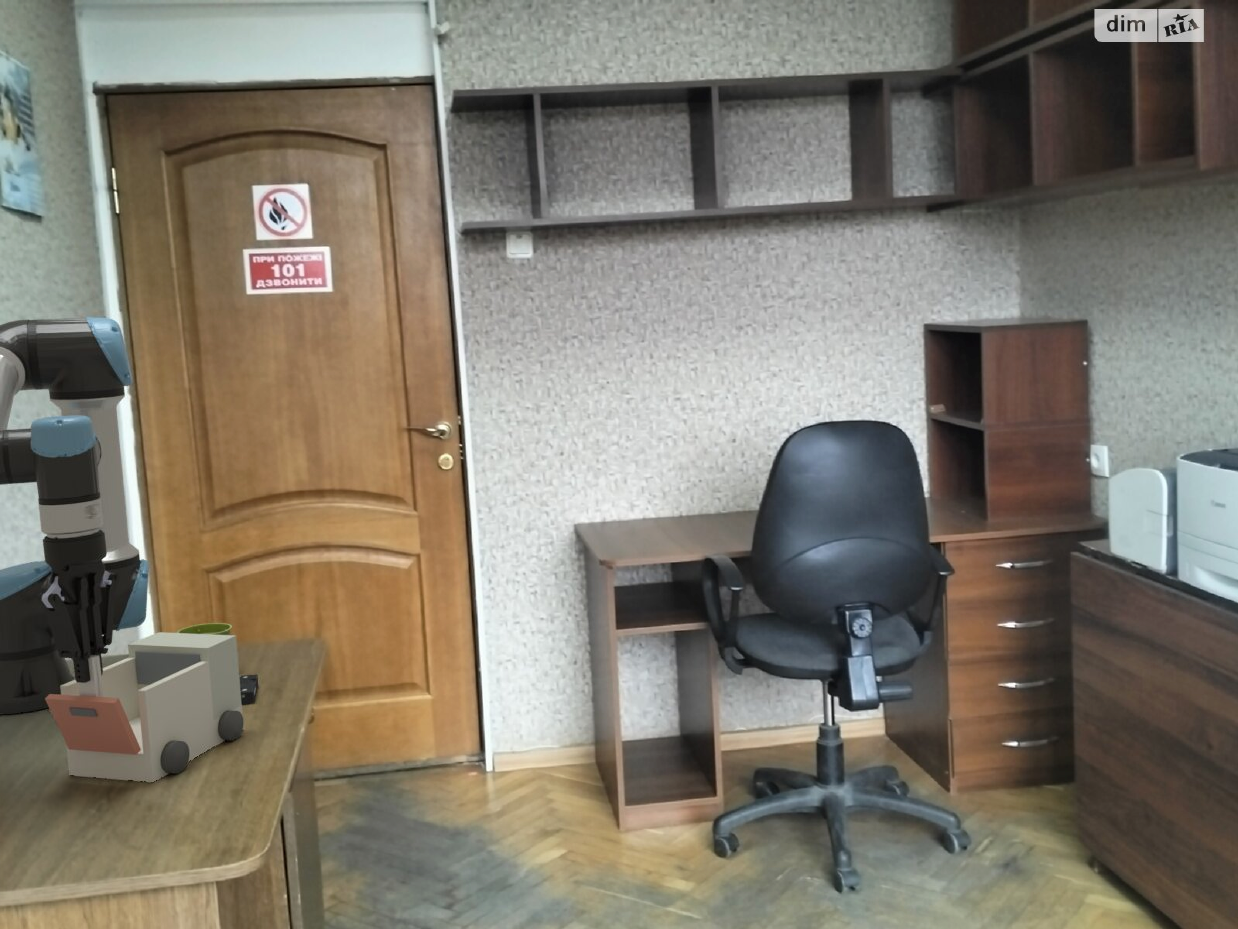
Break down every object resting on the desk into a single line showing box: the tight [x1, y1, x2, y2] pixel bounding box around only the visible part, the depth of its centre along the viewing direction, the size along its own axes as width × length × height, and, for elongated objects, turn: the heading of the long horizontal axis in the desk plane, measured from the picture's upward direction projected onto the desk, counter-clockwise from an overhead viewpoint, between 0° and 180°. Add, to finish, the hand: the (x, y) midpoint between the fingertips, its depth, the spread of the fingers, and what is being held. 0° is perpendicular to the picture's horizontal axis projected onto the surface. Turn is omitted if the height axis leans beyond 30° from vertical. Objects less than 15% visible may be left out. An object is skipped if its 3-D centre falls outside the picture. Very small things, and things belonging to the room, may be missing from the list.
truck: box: [60, 631, 244, 783], centre depth 168 cm, size 17×21×15 cm
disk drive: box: [239, 674, 259, 706], centre depth 193 cm, size 10×3×15 cm
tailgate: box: [45, 694, 141, 755], centre depth 156 cm, size 11×1×9 cm, turn 74°
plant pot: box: [176, 622, 233, 635], centre depth 207 cm, size 9×9×9 cm
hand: (92, 702), depth 156 cm, fingers closed
